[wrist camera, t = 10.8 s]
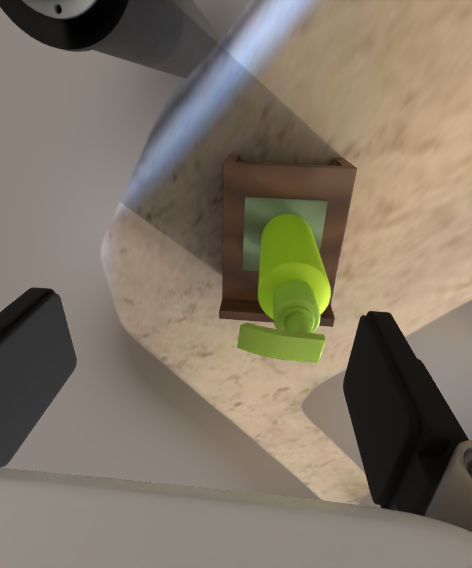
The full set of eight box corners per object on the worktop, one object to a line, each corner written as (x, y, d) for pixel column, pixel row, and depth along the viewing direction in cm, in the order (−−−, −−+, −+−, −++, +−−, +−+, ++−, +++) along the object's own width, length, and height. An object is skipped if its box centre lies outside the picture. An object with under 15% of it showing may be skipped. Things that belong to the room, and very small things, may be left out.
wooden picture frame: (230, 153, 42) (219, 167, 33) (343, 158, 41) (364, 173, 32) (228, 280, 50) (219, 318, 41) (322, 286, 49) (333, 327, 40)
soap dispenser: (256, 209, 37) (243, 302, 20) (317, 217, 37) (360, 319, 19) (249, 256, 40) (233, 375, 22) (306, 264, 40) (335, 390, 22)
